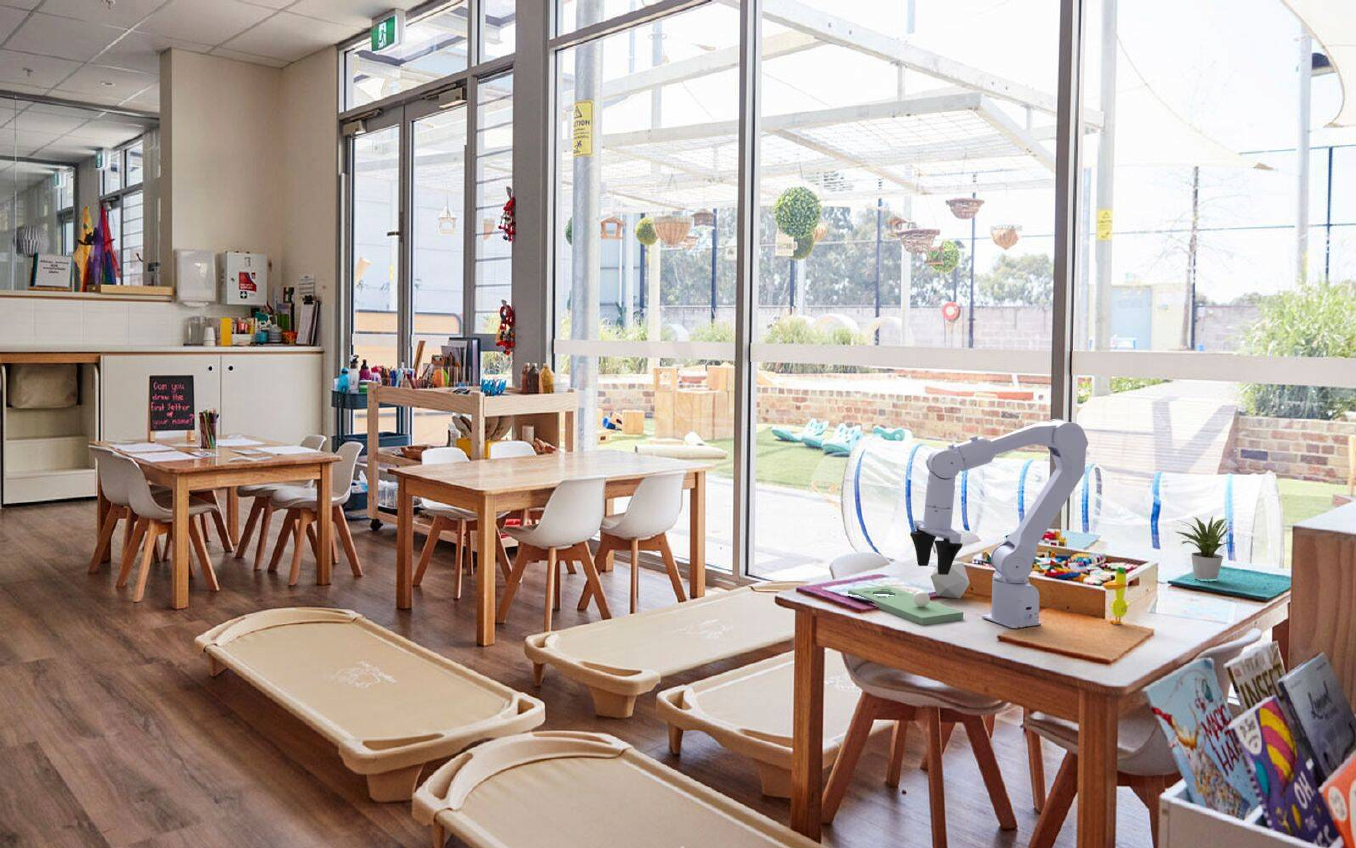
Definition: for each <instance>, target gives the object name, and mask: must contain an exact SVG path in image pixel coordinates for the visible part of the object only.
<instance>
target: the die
mask: <svg viewBox="0 0 1356 848" xmlns="http://www.w3.org/2000/svg"><path fill="white" fill-rule="evenodd" d="M930 579H931V582H932V584H933V587H934V590H935V593H936V597H941V598H942V597H943V598H952V599H961V597H963V594H964V593H965V592H966V590H967V589H968V587H969V585H970V584H971V583H970V579H969V576H968V574H967V570H966V567H965V565H964V563H963V562H958V561H957V562H956V561H953V563H952V565H951V568H950V571H949V574H948V575H939V574H938V565H937V566H936V567H935V569H934V570H933V572H932V573H931V574H930Z"/></svg>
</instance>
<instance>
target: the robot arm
mask: <svg viewBox="0 0 1356 848" xmlns="http://www.w3.org/2000/svg"><path fill="white" fill-rule="evenodd" d="M1031 445H1038V446H1042V447H1047V449H1048V450H1049V451H1050V453H1051V455H1052V458H1053V461H1054V464H1055V469H1054V471H1053V473H1052V474H1051V476H1050V477H1049V479H1048V481H1047V482H1046V484H1045V485H1044V486H1043V488H1042V490H1041V491H1040V493H1039V494H1038V495H1037V497H1036V499H1035V501H1034V502H1033V504H1032V505H1031V506H1030V508H1029V510H1028V511H1027V513H1026V514H1025V516H1024V517H1023V518H1022V521H1021V522H1020V523H1019V524H1018V527H1017V528H1016V530H1015V531H1013V532H1012V533H1011V534H1009V535H1007V537H1006V539H1004V541H1003V542H1001V543H1000V544H999V545H997V546H995V548H994V549H992V552H991V555H990V562H991V565H992V566H993V568H994V569H995V571H994V573H993V574H992V583H991V584H992V586H991V591H992V592H991V607H990V608H991V613H990V614H983V615H982V616H981V617H982V618H983V619H986V620H987V621H991V622H994V623H996V624H999V625H1002V626H1006V627H1008V628H1011V629H1018V628H1017V627H1020V628H1026V626H1027V627H1032V626H1038V625H1042V622H1041V621H1040V619H1039V617H1040V601H1041V600H1040V598H1041V597H1040V593H1039V592H1040V591H1039V590H1038V588H1037V587H1036V586H1034V585H1032V584H1031V583H1030V581H1029V576H1030V574H1031V572H1032V570H1033V563H1034V561H1035V559H1036V557H1037V556H1038V545H1039V544H1040V542H1041V540H1042V539H1043V537H1044V536H1045V534H1046V533H1047V532H1048V529H1049V528H1050V527H1051V526H1052V524H1053V522H1054V521H1055V519H1056V518H1057V516H1058V514H1059V512H1060V511H1061V510H1062V508H1063V506H1064V505H1065V504H1066V502H1067V500H1068V499H1069V498H1070V496H1071V494H1072V493H1073V491H1074V490H1075V488H1076V487H1077V485H1078V484H1079V482H1080V481H1081V479H1082V477H1083V476H1084V475H1085V471H1086V453H1087V448H1088V445H1089V441H1088V438H1087V435H1086V433H1085V431H1084V429H1083V427H1082V426H1081V425H1079V424H1078V423H1076V422H1069V421H1065V420H1063V419H1062V418H1054V419H1050V420H1048V421H1040V422H1037V423H1034V424H1030V425H1028V426H1025V427H1022V428H1019V429H1017V430H1014V431H1012V432H1009V433H1006V434H1002V435H1000V436H998V437H995V438H993V439H988V438H986V437H985V436H979V437H978V436H977V435H972V436H970V437H969V440H967V441H964V442H961V443H957V444H954V443H950V444H947V447H948V448H947V449H946V448H936V449H934V450H932V451H931V453H929V455H928V456H927V457H928V458H927V459H926V460H925V465H926V468H927V471H928V476H927V479H928V480H927V484H926V492H925V503H924V511H923V512H924V513H923V520H921V519H918V520H916V519H915V520H914V521H913V522H914V523H913V530H915V531H911V532H910V533H909V535H910V537H911V539H912V541H913V542H912V543H913V545H914V549H915V555H916V561H917V566H918V567H928V566H929V564H930V560H931V559H930V558H931V553H932V548H933V546H934V545H935V549H936V553H937V566H938V574H939V575H948V574H949V571H950V568H951V565H952V563H953V562H955V559H956V556H957V555H958V553H959V552H960V550H961V549H962V548H963V543H962V542H961V539H962V534H961V533H959V532H958V531H956V530H955V529H953V528H952V522H953V513H954V502H955V493H956V492H955V489H956V485H955V484H956V476H957V475H959V473H960V472H965V471H966V472H967V471H969V470H971V469H974V468H977V467H981V466H984V465H987V464H990V463H992V462H993V460H994V458H995V456H996V455H999V454H1002V453H1005V452H1006V453H1007V452H1010V451H1013V450H1016V449H1020V448H1023V447H1028V446H1031ZM936 538H940V539H942V540H938V539H937V540H936ZM1021 626H1022V627H1021Z"/></svg>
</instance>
